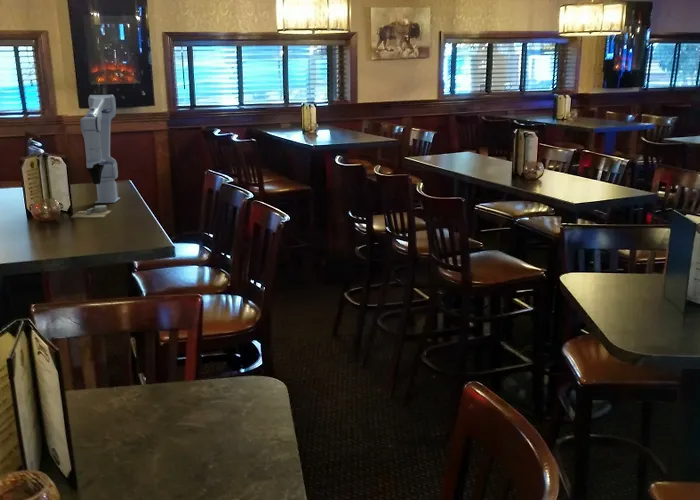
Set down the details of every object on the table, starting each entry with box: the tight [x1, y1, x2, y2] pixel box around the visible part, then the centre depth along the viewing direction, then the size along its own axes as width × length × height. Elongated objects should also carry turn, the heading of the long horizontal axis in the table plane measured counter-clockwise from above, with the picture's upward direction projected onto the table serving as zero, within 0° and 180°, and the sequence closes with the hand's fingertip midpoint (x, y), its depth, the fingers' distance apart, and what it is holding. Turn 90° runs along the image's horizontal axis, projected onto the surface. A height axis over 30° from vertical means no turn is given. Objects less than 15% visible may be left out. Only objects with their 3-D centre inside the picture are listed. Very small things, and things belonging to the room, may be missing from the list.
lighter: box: [85, 204, 108, 215], centre depth 261 cm, size 7×2×8 cm
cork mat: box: [70, 209, 113, 219], centre depth 258 cm, size 11×12×1 cm
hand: (97, 183), depth 266 cm, fingers closed
